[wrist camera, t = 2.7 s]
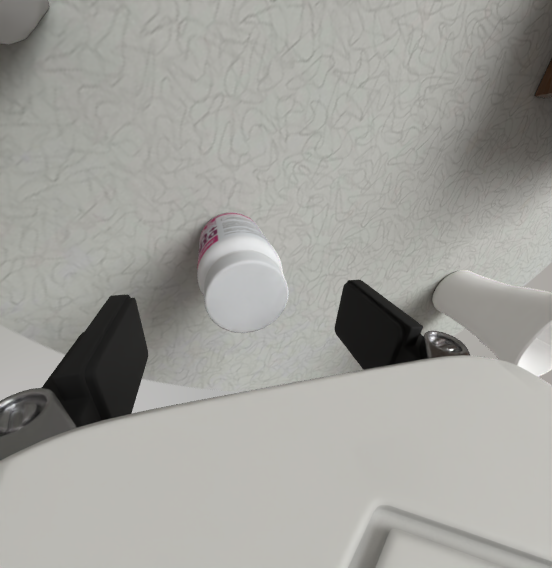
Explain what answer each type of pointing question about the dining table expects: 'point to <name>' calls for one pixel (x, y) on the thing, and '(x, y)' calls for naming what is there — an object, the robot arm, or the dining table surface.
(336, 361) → the dining table surface
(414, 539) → the robot arm
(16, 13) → the salt shaker
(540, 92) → the shelf
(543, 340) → the cup
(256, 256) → the pill bottle
